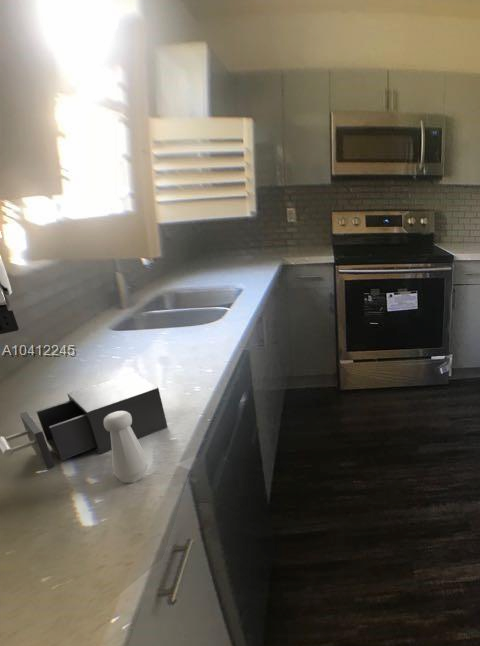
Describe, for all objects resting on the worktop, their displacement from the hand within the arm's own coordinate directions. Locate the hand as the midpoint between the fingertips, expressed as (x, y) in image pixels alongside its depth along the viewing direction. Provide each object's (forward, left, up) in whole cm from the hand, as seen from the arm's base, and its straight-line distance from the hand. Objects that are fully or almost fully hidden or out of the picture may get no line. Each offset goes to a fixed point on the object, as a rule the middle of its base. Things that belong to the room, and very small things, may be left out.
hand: (7, 331), depth 86 cm
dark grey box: (+14, +1, -25) cm, 29 cm away
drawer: (+4, -5, -24) cm, 25 cm away
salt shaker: (+19, -18, -25) cm, 36 cm away
